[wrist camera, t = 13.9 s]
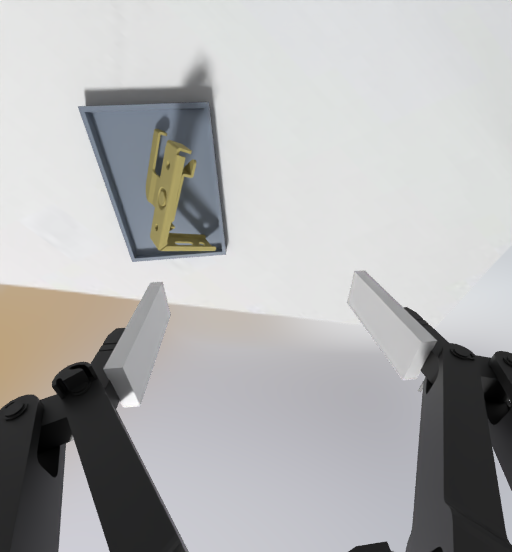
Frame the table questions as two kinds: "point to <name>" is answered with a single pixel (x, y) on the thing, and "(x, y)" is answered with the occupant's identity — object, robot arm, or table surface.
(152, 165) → the bracket
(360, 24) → the table surface
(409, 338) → the robot arm
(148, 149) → the tray
